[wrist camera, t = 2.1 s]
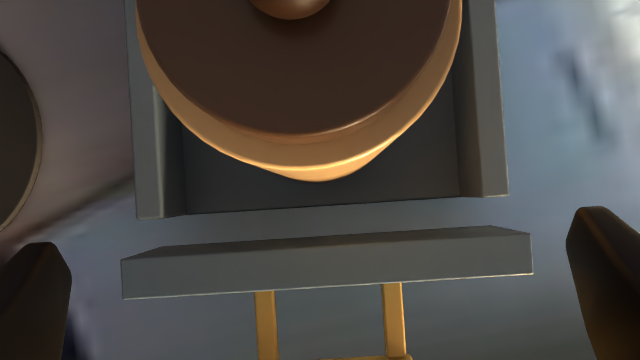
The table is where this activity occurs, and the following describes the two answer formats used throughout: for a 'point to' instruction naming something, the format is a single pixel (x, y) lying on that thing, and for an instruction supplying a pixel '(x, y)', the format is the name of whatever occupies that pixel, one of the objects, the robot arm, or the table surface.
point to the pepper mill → (299, 75)
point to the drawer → (330, 198)
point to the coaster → (17, 140)
